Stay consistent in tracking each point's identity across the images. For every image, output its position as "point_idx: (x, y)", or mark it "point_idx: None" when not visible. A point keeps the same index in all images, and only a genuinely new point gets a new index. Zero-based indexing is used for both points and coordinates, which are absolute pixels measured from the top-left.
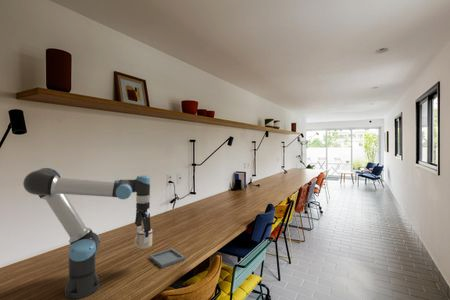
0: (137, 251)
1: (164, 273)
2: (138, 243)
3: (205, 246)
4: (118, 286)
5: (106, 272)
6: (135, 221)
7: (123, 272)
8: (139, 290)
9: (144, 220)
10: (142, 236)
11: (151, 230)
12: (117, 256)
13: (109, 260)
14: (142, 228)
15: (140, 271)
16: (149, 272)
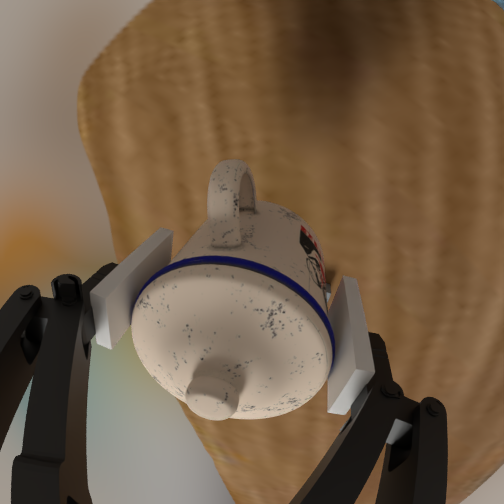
0: (440, 297)
1: (147, 222)
2: (247, 212)
3: (215, 433)
4: (214, 17)
5: (394, 52)
6: (439, 439)
7: (319, 99)
8: (117, 71)
9: (30, 449)
10: (170, 263)
11: (164, 387)
12: (488, 205)
13: (489, 152)
14: (233, 371)
15: (251, 162)
16: (205, 185)
